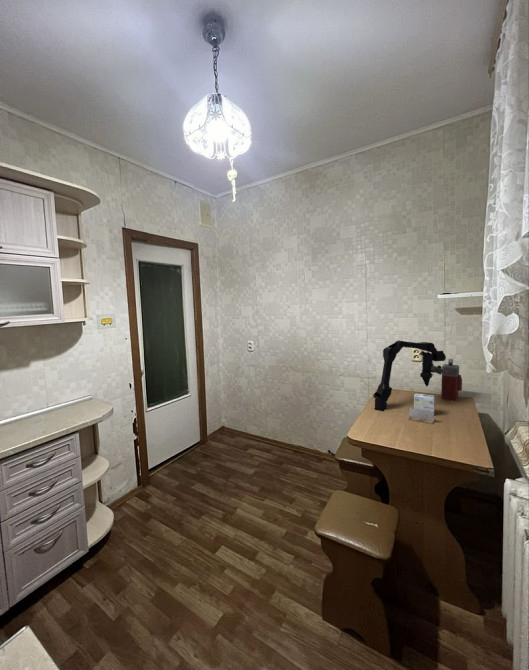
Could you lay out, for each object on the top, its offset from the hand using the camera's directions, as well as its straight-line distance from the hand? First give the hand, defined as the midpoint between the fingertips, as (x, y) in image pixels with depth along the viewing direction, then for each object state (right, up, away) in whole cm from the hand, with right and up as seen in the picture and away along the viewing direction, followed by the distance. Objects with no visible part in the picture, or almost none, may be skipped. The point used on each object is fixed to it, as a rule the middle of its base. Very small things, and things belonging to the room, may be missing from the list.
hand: (427, 385), depth 182 cm
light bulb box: (-9, -15, -12) cm, 21 cm away
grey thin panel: (-17, -15, -23) cm, 32 cm away
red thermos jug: (+24, -12, +12) cm, 29 cm away
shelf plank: (-17, -16, -24) cm, 34 cm away
